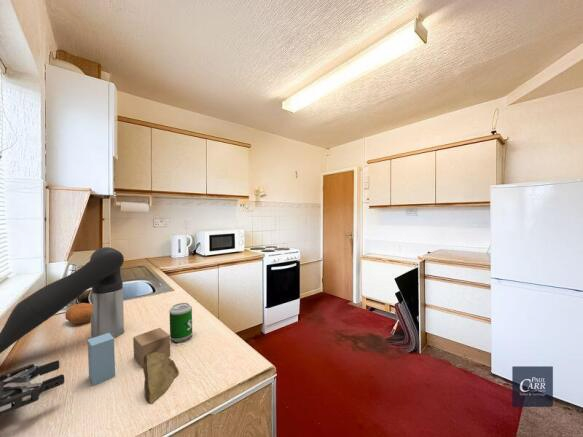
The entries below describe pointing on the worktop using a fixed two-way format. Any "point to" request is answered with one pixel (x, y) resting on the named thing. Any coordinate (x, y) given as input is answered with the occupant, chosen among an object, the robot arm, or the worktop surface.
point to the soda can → (180, 322)
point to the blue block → (101, 358)
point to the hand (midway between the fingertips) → (61, 371)
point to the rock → (157, 375)
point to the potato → (79, 313)
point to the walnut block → (151, 344)
